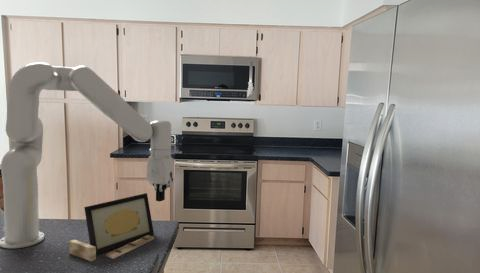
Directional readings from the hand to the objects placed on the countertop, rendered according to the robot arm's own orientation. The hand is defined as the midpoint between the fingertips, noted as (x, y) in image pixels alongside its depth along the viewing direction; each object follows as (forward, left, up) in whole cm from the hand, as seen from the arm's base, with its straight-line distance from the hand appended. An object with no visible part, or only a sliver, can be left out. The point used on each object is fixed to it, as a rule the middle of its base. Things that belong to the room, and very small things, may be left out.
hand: (160, 200), depth 129 cm
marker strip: (+5, -19, -10) cm, 22 cm away
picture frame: (-3, -18, -11) cm, 21 cm away
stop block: (-3, -32, -11) cm, 34 cm away
